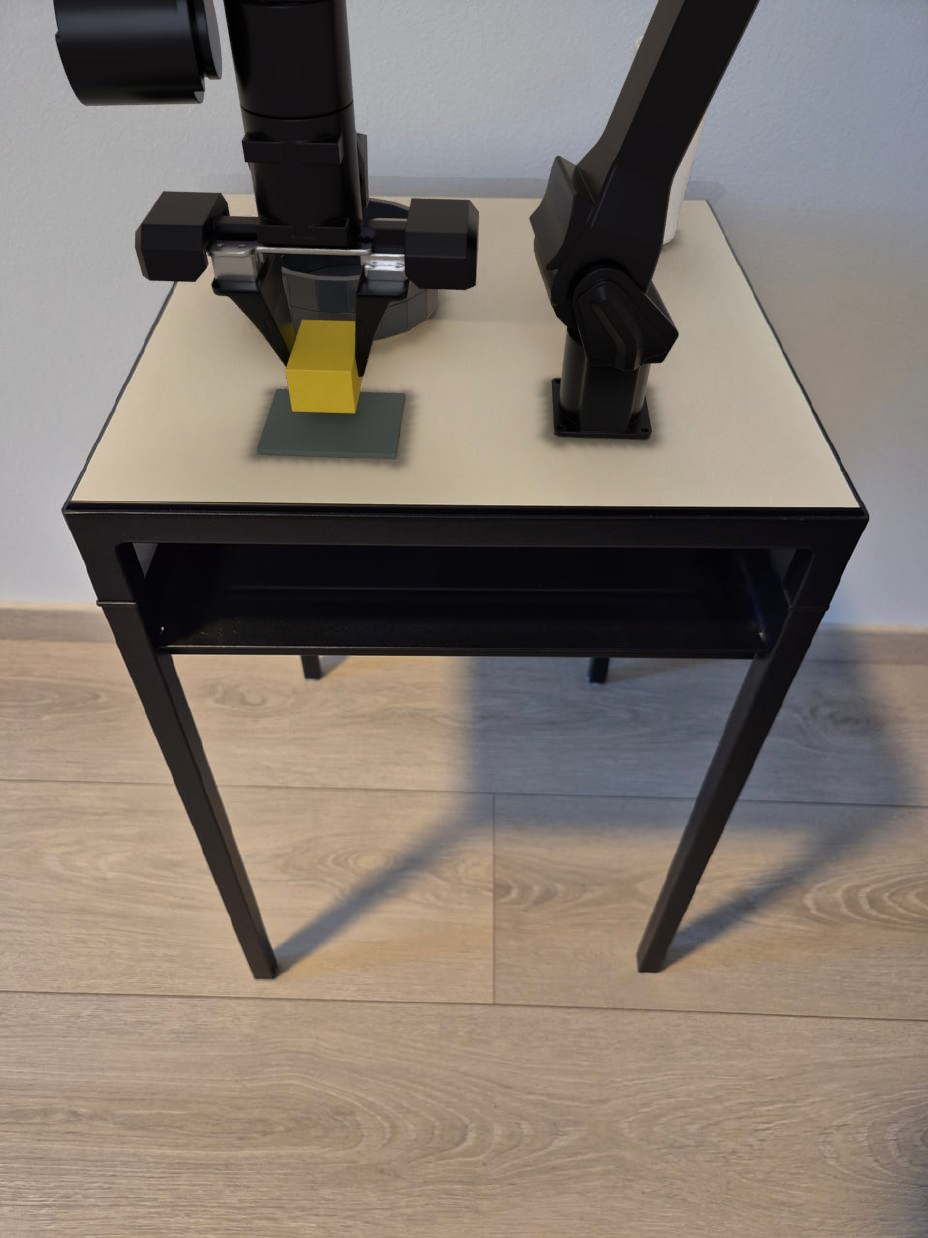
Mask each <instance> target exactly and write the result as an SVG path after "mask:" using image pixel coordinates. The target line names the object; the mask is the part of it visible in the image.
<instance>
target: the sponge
mask: <svg viewBox="0 0 928 1238" xmlns="http://www.w3.org/2000/svg"><path fill="white" fill-rule="evenodd" d="M285 376H286V382H287V388H288V389H289V395H290V401H291V407H292V411H293V412H325V413H355V412H356V408H357V403H358V398H359V393H360V392H361V388H362V384H363V378H364V377H359V376H358V371H357V366H356V360H355V321H326V320H302V321H301V324H300V327H299V330H298V333H297V336H296V339H295V342H294V345H293V349H292V352H291V355H290V358H289V361H288V364H287V367H285Z"/></svg>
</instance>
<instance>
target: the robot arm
mask: <svg viewBox="0 0 928 1238" xmlns="http://www.w3.org/2000/svg"><path fill="white" fill-rule="evenodd" d="M760 1H761V0H658V1H657V3H656V5H655V7H654V10H653V13H652V15H651V17H650V19H649V22H648V25H647V26H646V29H645V32H644V34H643V35H644V36H643V35H642V36H643V39H642V41H641V44H640V46H639V48H638V51H637V53H636V56H635V58H634V60H633V63H632V65H631V64H630V65H631V68H630V67H629V70H628V72H627V75H626V77H625V80H624V82H623V85H622V87H621V89H620V92H619V94H618V96H617V99H616V102H615V104H614V106H613V108H612V110H611V113H610V116H609V118H608V120H607V123H606V125H605V127H604V130H603V132H602V134H601V135H600V137H599V139H598V140H597V141H596V142H595V144H594V145H593V146H592V148H591V149H589V151H588V152H587V153H586V154H585V155H584V156H583V157H582V158H581V159H580V160H579V162H578V163H577V164H574V163H573V162H571V161H569V160H568V159H566V158H565V157H563V156H561V155H556V156H555V157H554V160H553V162H552V165H551V168H550V173H549V177H548V181H547V186H546V190H545V193H544V195H543V197H542V199H541V201H540V203H539V205H538V206H537V208H535V210H534V211H533V212H532V213H531V215H530V216H529V218H528V220H529V224H530V227H531V228H532V231H533V235H534V238H533V253H534V257H535V261H536V264H537V267H538V269H539V270H538V271H539V273H540V275H541V279H542V282H543V285H544V289H545V291H546V295H547V297H548V299H549V303H550V305H551V307H552V310H553V312H554V314H555V317H556V318H557V319H558V320H559V321H560V322H561V323H562V324H563V325H564V326H565V327H566V331H565V338H564V339H565V340H564V350H563V358H562V359H563V360H562V368H561V377H554V378H552V379H551V383H550V394H551V395H550V396H551V414H552V415H551V416H552V432H553V435H554V436H556V437H559V438H575V439H576V438H580V439H605V440H607V439H608V440H633V441H634V440H637V441H638V440H639V441H647V440H650V439H651V437H652V433H653V429H652V423H651V418H650V412H649V406H648V400H647V396H646V391H647V388H648V387H647V386H648V382H649V376H650V371H651V367H652V366H651V365H652V364H654V365H655V364H662V363H664V361H666V359H667V357H668V355H669V353H670V352H671V350H672V349H673V347H674V345H675V343H676V342H677V340H678V338H679V336H680V334H679V330H678V327H677V326H676V324H675V322H674V321H673V318H672V317H671V315H670V313H669V311H668V309H667V307H666V304H665V302H664V301H663V299H662V297H661V295H660V293H659V291H658V289H657V287H656V285H655V284H654V281H653V278H654V275H655V272H656V268H657V265H658V263H659V260H660V256H661V254H662V251H663V241H664V234H665V227H666V220H667V213H668V206H669V199H670V192H671V187H672V183H673V180H674V177H675V174H676V172H677V170H678V168H679V166H680V164H681V162H682V160H683V158H684V156H685V154H686V152H687V150H688V148H689V145H690V143H691V141H692V139H693V137H694V135H695V133H696V131H697V129H698V127H699V125H700V123H701V121H702V119H703V117H704V115H705V113H706V111H707V108H708V106H709V107H710V105H711V102H712V101H713V98H714V96H715V94H716V92H717V90H718V88H719V86H720V83H721V82H722V80H723V77H724V75H726V72H727V70H728V67H729V65H730V64H731V62H732V59H733V57H734V55H735V53H736V51H737V49H738V47H739V45H740V43H741V40H742V39H743V36H744V35H745V32H746V30H747V28H748V26H749V24H750V23H751V20H752V18H753V16H754V14H755V12H756V10H757V8H758V6H759V4H760ZM222 2H223V9H224V15H225V21H226V26H227V34H228V39H229V46H230V52H231V58H232V64H233V71H234V76H235V83H236V88H237V95H238V100H239V108H240V113H241V120H242V121H241V122H242V126H243V133H244V135H243V137H242V138H241V140H240V142H241V147H242V153H243V159H244V163H245V164H246V163H247V165H248V169H249V171H250V177H251V182H252V188H253V189H252V190H253V194H254V195H253V196H254V200H255V201H254V202H255V207H256V212H257V213H256V214H257V216H248V215H247V216H246V215H245V216H242V215H231V214H230V213H231V212H230V208H229V207H230V206H229V202H228V201H227V199H226V198H225V197H224V196H225V195H223V194H222V192H205V191H171V190H163V191H162V192H161V194H160V195H159V196H158V198H157V199H156V201H154V203H153V205H152V206H151V207H150V210H149V211H148V213H147V214H146V215H145V217H144V218H143V219H142V221H141V223H140V224H139V226H138V227H137V229H136V230H135V232H134V250H135V253H136V257H137V261H138V264H139V268H140V271H141V275H142V277H143V278H145V279H146V280H148V281H149V282H179V283H196V282H197V281H198V280H199V279H200V277H201V276H202V275H203V273H204V272H205V271H206V270H207V268H208V267H209V264H210V263H209V259H208V258H209V257H210V260H211V264H212V269H213V274H214V277H213V279H212V282H211V284H210V286H211V289H212V293H213V294H214V295H216V296H218V297H227V298H229V299H230V300H231V301H232V302H233V303H234V304H235V305H236V306H237V308H238V309H239V310H240V311H241V312H242V313H243V314H244V315H245V316H246V318H247V319H248V320H249V321H250V322H251V323H252V324H253V325H254V326H255V327H256V329H257V330H258V331H259V332H260V334H261V335H262V336H263V338H264V339H265V340H266V342H267V343H268V344H269V346H270V347H271V348H272V350H273V351H274V353H275V355H276V356H277V357H278V359H279V360H280V361H281V364H283V365H284V367H285V368H286V367H287V364H288V361H289V358H290V355H291V352H292V349H293V345H294V342H295V339H296V335H295V331H294V327H293V323H292V318H291V314H290V310H289V305H288V301H287V297H286V293H285V288H284V284H283V278H282V265H281V255H304V256H338V257H360V259H361V266H362V270H361V274H360V277H359V281H358V285H357V289H356V303H355V360H356V366H357V371H358V376H359V377H363V378H364V377H365V374H366V370H367V366H368V363H369V358H370V355H371V351H372V347H373V343H374V341H373V340H374V337H375V334H376V331H377V329H378V327H379V324H380V322H381V320H382V318H383V316H384V314H385V312H386V310H387V308H388V306H389V303H390V302H392V301H403V300H406V299H407V298H408V296H409V291H410V285H411V281H412V282H413V283H414V284H415V285H416V286H417V287H418V288H419V289H440V291H441V290H443V291H444V290H445V291H468V290H469V289H472V288H474V287H476V286H477V273H478V260H479V259H478V257H479V240H480V239H479V238H480V237H479V235H480V234H479V233H480V211H479V209H478V208H477V207H476V206H475V204H474V203H473V202H472V201H471V200H470V199H458V198H457V199H456V198H455V199H453V198H423V197H422V198H420V197H419V198H418V197H411V198H410V202H409V207H410V208H409V213H408V218H407V219H393V218H376V219H372V220H362V208H367V206H368V202H369V198H370V190H369V157H368V156H369V155H368V154H369V153H368V151H369V150H368V134H365V133H360V132H357V129H356V128H357V127H356V118H355V117H356V116H355V115H356V114H355V104H354V101H355V100H354V89H353V76H352V62H351V50H350V36H349V21H348V10H347V0H222ZM52 4H53V11H54V19H55V23H56V29H57V31H56V32H55V33H54V39H55V44H56V48H57V52H58V55H59V58H60V61H61V65H62V67H63V70H64V74H65V76H66V78H67V81H68V84H69V86H70V87H71V89H72V91H73V94H74V95H75V97H76V98H77V100H78V101H79V103H81V104H82V105H83V106H85V107H109V106H113V107H114V106H161V105H164V106H165V105H166V106H167V105H201V104H203V103H204V99H205V92H206V80H205V78H208V79H209V80H210V81H217V80H218V81H220V80H221V79H222V78H223V55H222V46H221V45H222V44H221V37H220V31H219V25H218V18H217V13H216V9H215V3H214V0H52ZM709 104H710V105H709Z"/></svg>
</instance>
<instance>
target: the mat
mask: <svg viewBox="0 0 928 1238" xmlns="http://www.w3.org/2000/svg"><path fill="white" fill-rule="evenodd" d="M405 400H406V394H405V393H404V392H383V391H382V392H379V391H378V392H377V391H360V393H359V398H358V403H357V408H356V412H355V413H325V412H293V411H292V407H291V401H290V395H289V389H287V388H276V390H275V393H274V396H273V399H272V402H271V404H270V407H269V411H268V414H267V416H266V420H265V423H264V426H263V428H262V432H261V435H260V437H259V441H258V444H257V447H256V454H257V455H269V456H270V455H271V456H272V455H273V456H300V457H326V458H327V457H328V458H353V459H354V458H358V459H385V460H386V459H388V460H396V459H397V453H398V448H399V447H398V446H399V441H400V434H401V429H402V421H403V414H404V407H405Z"/></svg>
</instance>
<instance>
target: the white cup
mask: <svg viewBox="0 0 928 1238" xmlns="http://www.w3.org/2000/svg"><path fill="white" fill-rule="evenodd" d="M643 36H644V34H643V35H640V36H639V37H637V38H636V39H635V40H634V43H633V48H632V55H631V60H630V66H629V69H630V68H631V65H632V63H633V60H634V58H635V56H636V53H637V51H638V48H639V46H640V44H641V41H642V39H643ZM710 105H711V103H710V104H709V106H708V108H707V111H706V113H705V115H704V117H703V119H702V121H701V123H700V125H699V127H698V129H697V131H696V133H695V135H694V137H693V139H692V141H691V143H690V145H689V148H688V150H687V152H686V154H685V156H684V158H683V160H682V162H681V164H680V166H679V168H678V170H677V172H676V174H675V177H674V180H673V183H672V187H671V192H670V199H669V206H668V213H667V220H666V227H665V234H664V241H663V245H666V244H668V243H670V242H671V241H672V240H673V239H674V237H676V234H677V228H678V224H679V221H680V220H679V219H680V215H681V210H682V208H683V204H684V199H685V196H686V192H687V188H688V185H689V181H690V178H691V174H692V171H693V167H694V164H695V161H696V156H697V154H698V153H697V152H698V149H699V145H700V141H701V138H702V135H703V131H704V127H705V124H706V120H707V116H708V113H709V109H710Z"/></svg>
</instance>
